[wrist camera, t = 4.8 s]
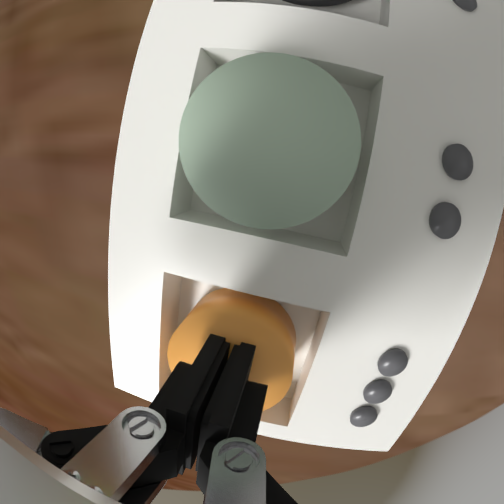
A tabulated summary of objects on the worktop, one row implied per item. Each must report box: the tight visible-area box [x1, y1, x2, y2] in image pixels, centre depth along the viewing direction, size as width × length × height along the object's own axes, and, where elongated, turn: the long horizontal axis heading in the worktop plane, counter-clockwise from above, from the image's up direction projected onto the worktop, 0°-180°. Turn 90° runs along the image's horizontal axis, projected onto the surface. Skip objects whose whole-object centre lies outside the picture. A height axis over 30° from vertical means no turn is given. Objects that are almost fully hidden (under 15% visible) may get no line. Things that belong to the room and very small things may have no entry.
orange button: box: [167, 288, 296, 411], centre depth 12 cm, size 5×5×2 cm
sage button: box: [179, 52, 361, 229], centre depth 8 cm, size 5×5×2 cm
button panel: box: [108, 0, 504, 451], centre depth 10 cm, size 24×14×3 cm, turn 170°
